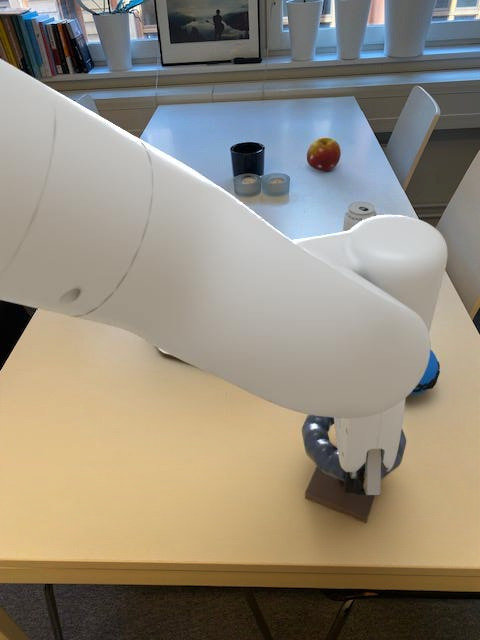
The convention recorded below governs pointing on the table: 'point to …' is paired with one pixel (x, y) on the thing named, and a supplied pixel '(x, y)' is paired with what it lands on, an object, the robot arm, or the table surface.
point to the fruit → (323, 154)
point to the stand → (338, 496)
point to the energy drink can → (358, 214)
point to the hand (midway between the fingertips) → (356, 472)
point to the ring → (333, 447)
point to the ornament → (428, 376)
